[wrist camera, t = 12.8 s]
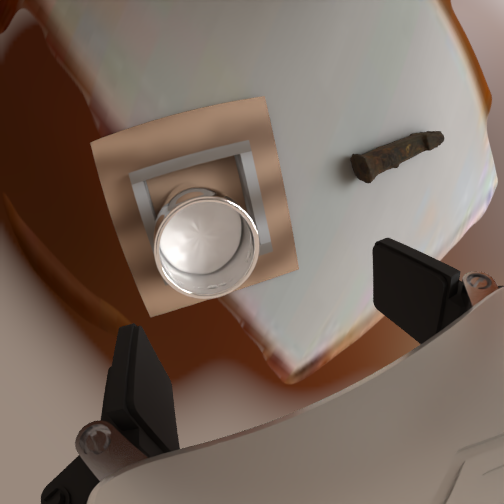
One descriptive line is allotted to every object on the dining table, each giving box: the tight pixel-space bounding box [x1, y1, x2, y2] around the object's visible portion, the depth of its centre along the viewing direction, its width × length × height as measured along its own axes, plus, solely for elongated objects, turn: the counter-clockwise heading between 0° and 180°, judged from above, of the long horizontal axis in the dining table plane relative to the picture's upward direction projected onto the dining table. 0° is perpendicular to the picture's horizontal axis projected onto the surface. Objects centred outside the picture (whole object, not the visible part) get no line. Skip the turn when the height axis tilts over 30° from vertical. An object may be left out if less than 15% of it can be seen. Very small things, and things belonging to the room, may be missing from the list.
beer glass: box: [153, 183, 259, 299], centre depth 24 cm, size 7×7×15 cm
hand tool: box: [350, 131, 444, 183], centre depth 35 cm, size 19×4×5 cm, turn 110°
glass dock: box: [91, 96, 299, 317], centre depth 30 cm, size 22×20×4 cm
